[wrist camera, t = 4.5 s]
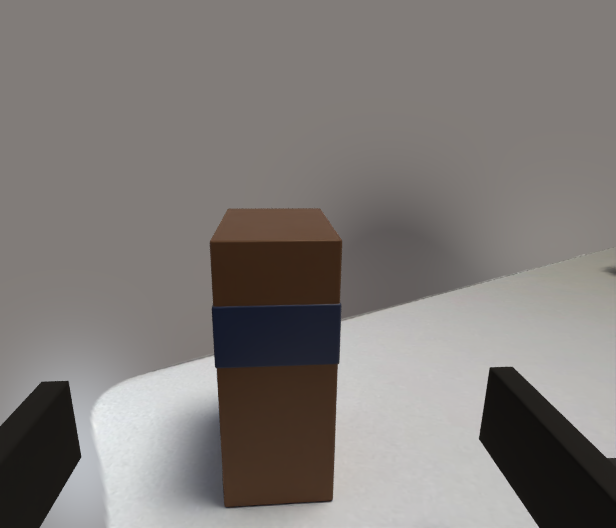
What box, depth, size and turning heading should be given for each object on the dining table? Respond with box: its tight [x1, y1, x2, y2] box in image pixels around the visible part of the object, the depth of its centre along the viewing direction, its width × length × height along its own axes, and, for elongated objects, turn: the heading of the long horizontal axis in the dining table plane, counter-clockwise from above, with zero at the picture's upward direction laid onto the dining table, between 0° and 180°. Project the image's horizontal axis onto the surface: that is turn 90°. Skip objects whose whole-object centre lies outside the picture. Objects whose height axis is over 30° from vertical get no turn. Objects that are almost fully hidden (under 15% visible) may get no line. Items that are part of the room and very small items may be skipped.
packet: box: [210, 209, 342, 507], centre depth 19 cm, size 6×4×11 cm
